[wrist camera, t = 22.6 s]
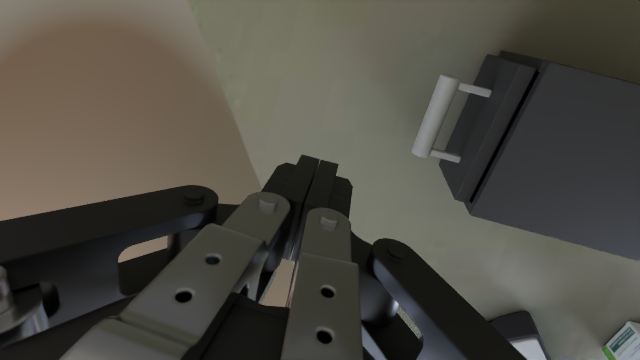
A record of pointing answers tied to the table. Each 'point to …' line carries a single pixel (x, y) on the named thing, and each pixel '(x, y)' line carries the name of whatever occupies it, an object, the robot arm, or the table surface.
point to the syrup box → (624, 343)
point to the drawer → (474, 121)
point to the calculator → (520, 335)
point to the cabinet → (569, 161)
